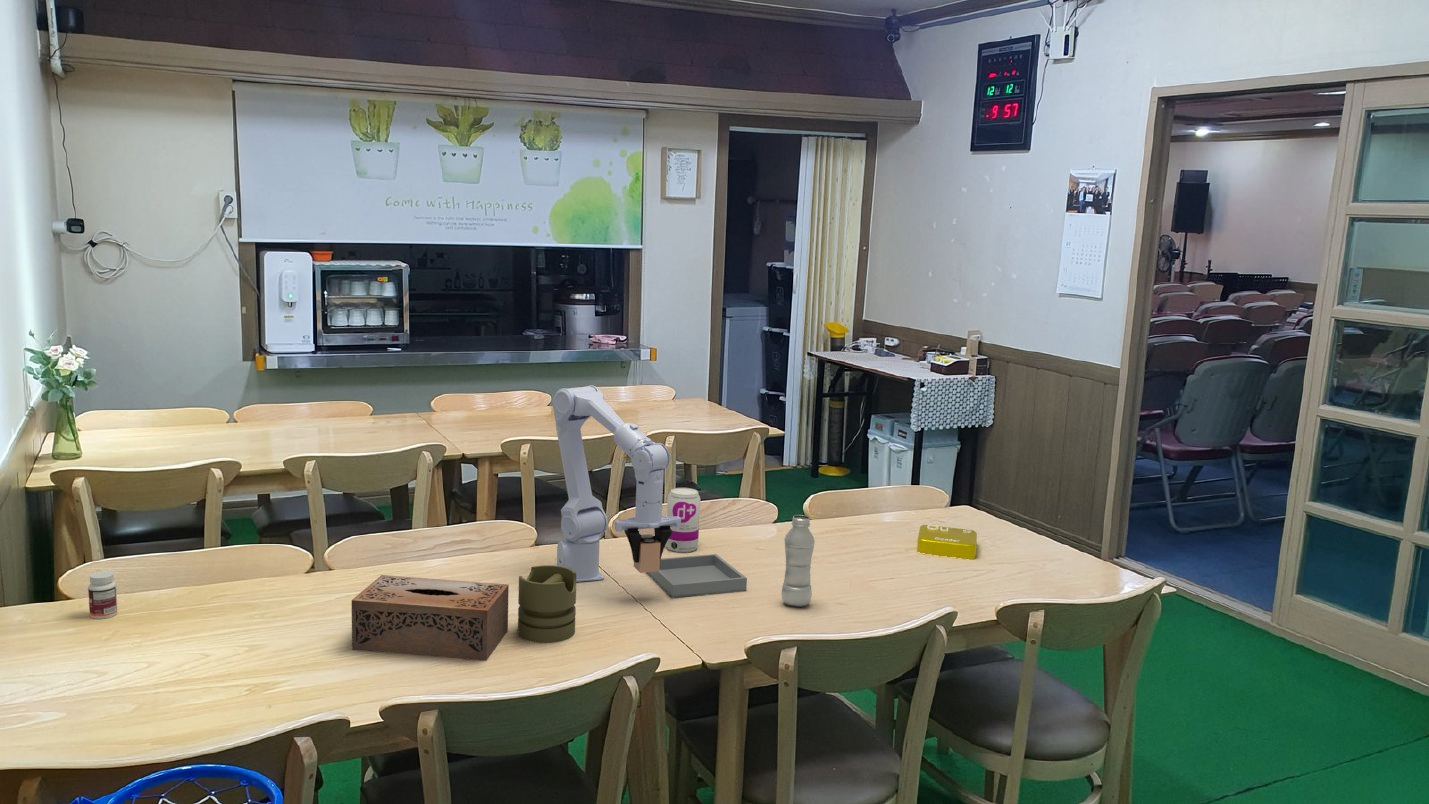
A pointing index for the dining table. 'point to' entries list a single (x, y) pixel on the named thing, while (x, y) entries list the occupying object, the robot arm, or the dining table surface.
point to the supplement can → (684, 519)
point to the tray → (697, 576)
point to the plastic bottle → (798, 563)
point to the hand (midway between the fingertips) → (646, 560)
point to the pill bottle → (102, 595)
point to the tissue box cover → (430, 617)
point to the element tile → (947, 542)
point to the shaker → (648, 554)
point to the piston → (547, 604)
